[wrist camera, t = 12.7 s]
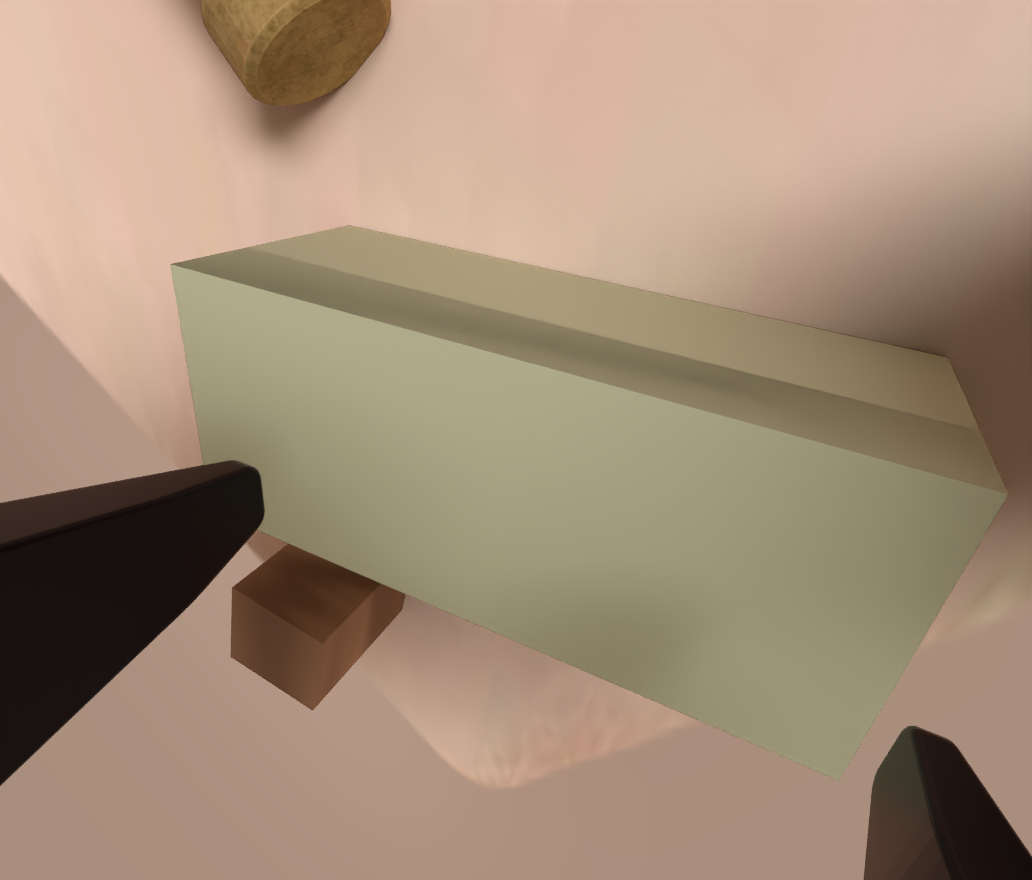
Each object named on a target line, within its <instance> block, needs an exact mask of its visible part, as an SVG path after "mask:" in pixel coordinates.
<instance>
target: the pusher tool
mask: <svg viewBox="0 0 1032 880" xmlns="http://www.w3.org/2000/svg"><path fill="white" fill-rule="evenodd" d="M404 598H405V594H404V593H402V592H400V591H397V590H395V589H393V588H390V587H388V586H386V585H384V584H381V583H379V582H377V581H374V580H372V579H370V578H367V577H365V576H363V575H360V574H358V573H356V572H353V571H351V570H349V569H346V568H344V567H342V566H339V565H337V564H335V563H333V562H330V561H328V560H326V559H323V558H321V557H319V556H316V555H314V554H312V553H309V552H307V551H305V550H302V549H300V548H298V547H295V546H293V545H291V544H288V545H286V546H285V547H284V548H283V549H281V550H280V551H279V552H277V553H276V554H275V555H274V556H272V557H271V558H270V559H268V560H267V561H266V562H265V563H263V564H262V565H261V566H259V567H258V568H257V569H256V570H254V571H253V572H252V573H250V574H249V575H248V576H246V577H245V578H244V579H243V580H241V581H240V582H239V583H237V584H236V585H235V586H234V587H233V588H232V621H231V622H232V623H231V625H232V626H231V657H232V658H233V659H235V660H237V661H238V662H240V663H241V664H243V665H244V666H246V667H247V668H249V669H250V670H252V671H253V672H255V673H257V674H258V675H259V676H261V677H262V678H264V679H266V680H267V681H268V682H270V683H272V684H273V685H275V686H276V687H278V688H279V689H281V690H282V691H284V692H285V693H287V694H288V695H290V696H291V697H293V698H294V699H296V700H297V701H299V702H300V703H302V704H304V705H305V706H307V707H308V708H310V709H311V710H314V708H315V707H316V706H317V705H318V704H319V703H320V702H321V700H322V699H323V698H324V697H325V696H326V695H327V694H328V693H329V691H330V690H331V689H332V688H333V687H334V686H335V685H336V684H337V682H338V681H339V680H340V679H341V678H342V677H343V676H344V675H345V673H346V672H347V671H348V670H349V669H350V668H351V667H352V665H353V664H354V663H355V662H356V661H357V660H358V659H359V658H360V656H361V655H362V654H363V653H364V652H365V651H366V650H367V649H368V647H369V646H370V645H371V644H372V643H373V642H374V641H375V640H376V638H377V637H378V636H379V635H380V634H381V633H382V632H383V631H384V629H385V628H386V627H387V626H388V625H389V624H390V623H391V621H392V620H393V619H394V618H395V617H396V616H397V615H398V614H399V612H400V611H401V610H402V606H403V602H404Z"/></svg>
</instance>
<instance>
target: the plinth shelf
mask: <svg viewBox="0 0 1032 880" xmlns="http://www.w3.org/2000/svg"><path fill="white" fill-rule="evenodd" d="M170 265H171V271H172V277H173V283H174V289H175V295H176V301H177V307H178V313H179V320H180V326H181V332H182V338H183V344H184V350H185V356H186V362H187V368H188V374H189V380H190V386H191V392H192V398H193V404H194V410H195V416H196V422H197V428H198V434H199V440H200V446H201V452H202V458H203V464H204V465H207V464H212V463H217V462H223V461H228V460H237V461H240V462H243V463H245V464H248V465H251V466H253V467H255V468H256V469H258V471H259V473H260V475H261V481H262V489H263V498H264V506H265V515H264V519H263V521H262V523H261V525H260V526H259V528H258V529H257V530H258V531H261V532H263V533H265V534H268V535H270V536H272V537H275V538H277V539H279V540H282V541H284V542H286V543H289V544H291V545H293V546H295V547H298V548H300V549H302V550H305V551H307V552H309V553H312V554H314V555H316V556H319V557H321V558H323V559H326V560H328V561H330V562H333V563H335V564H337V565H339V566H342V567H344V568H346V569H349V570H351V571H353V572H356V573H358V574H360V575H363V576H365V577H367V578H370V579H372V580H374V581H377V582H379V583H381V584H384V585H386V586H388V587H390V588H393V589H395V590H397V591H400V592H402V593H404V594H407V595H409V596H411V597H414V598H416V599H418V600H421V601H423V602H425V603H428V604H430V605H432V606H435V607H437V608H439V609H441V610H444V611H446V612H448V613H451V614H453V615H455V616H458V617H460V618H462V619H465V620H467V621H469V622H472V623H474V624H476V625H479V626H481V627H483V628H486V629H488V630H490V631H492V632H495V633H497V634H499V635H502V636H504V637H506V638H509V639H511V640H513V641H516V642H518V643H520V644H523V645H525V646H527V647H530V648H532V649H534V650H537V651H539V652H541V653H543V654H546V655H548V656H550V657H553V658H555V659H557V660H560V661H562V662H564V663H567V664H569V665H571V666H574V667H576V668H578V669H581V670H583V671H585V672H588V673H590V674H592V675H594V676H597V677H599V678H601V679H604V680H606V681H608V682H611V683H613V684H615V685H618V686H620V687H622V688H625V689H627V690H629V691H632V692H634V693H636V694H639V695H641V696H643V697H645V698H648V699H650V700H652V701H655V702H657V703H659V704H662V705H664V706H666V707H669V708H671V709H673V710H676V711H678V712H680V713H683V714H685V715H687V716H690V717H692V718H694V719H696V720H699V721H701V722H703V723H706V724H708V725H710V726H713V727H715V728H717V729H720V730H722V731H724V732H727V733H729V734H731V735H734V736H736V737H738V738H741V739H743V740H745V741H747V742H750V743H752V744H754V745H757V746H759V747H761V748H764V749H766V750H768V751H771V752H773V753H776V754H778V755H780V756H782V757H785V758H787V759H789V760H792V761H794V762H796V763H799V764H801V765H803V766H806V767H808V768H810V769H812V770H815V771H817V772H819V773H822V774H824V775H826V776H829V777H831V778H833V779H836V780H838V781H839V780H840V778H841V777H842V775H843V774H844V771H845V770H846V768H847V767H848V765H849V763H850V762H851V760H852V758H853V757H854V755H855V753H856V752H857V750H858V748H859V746H860V745H861V743H862V741H863V740H864V738H865V736H866V735H867V733H868V731H869V730H870V728H871V726H872V724H873V723H874V721H875V719H876V718H877V716H878V714H879V712H880V711H881V709H882V708H883V706H884V704H885V702H886V701H887V699H888V697H889V696H890V694H891V692H892V690H893V689H894V687H895V686H896V684H897V682H898V680H899V679H900V677H901V675H902V674H903V672H904V670H905V669H906V667H907V665H908V663H909V662H910V660H911V659H912V657H913V655H914V653H915V652H916V650H917V648H918V647H919V645H920V643H921V642H922V640H923V638H924V637H925V635H926V633H927V631H928V630H929V628H930V626H931V625H932V623H933V621H934V620H935V618H936V616H937V615H938V613H939V611H940V609H941V608H942V606H943V604H944V603H945V601H946V599H947V598H948V596H949V594H950V593H951V591H952V589H953V587H954V586H955V584H956V582H957V581H958V579H959V577H960V576H961V574H962V572H963V571H964V569H965V567H966V565H967V564H968V562H969V560H970V559H971V557H972V555H973V554H974V552H975V550H976V549H977V547H978V545H979V544H980V542H981V540H982V538H983V537H984V535H985V533H986V532H987V530H988V528H989V527H990V525H991V523H992V522H993V520H994V518H995V516H996V515H997V513H998V511H999V510H1000V508H1001V506H1002V505H1003V503H1004V501H1005V500H1006V498H1007V496H1008V492H1007V490H1006V488H1005V485H1004V483H1003V481H1002V478H1001V476H1000V474H999V472H998V469H997V467H996V465H995V463H994V460H993V458H992V456H991V454H990V451H989V449H988V447H987V445H986V442H985V440H984V438H983V436H982V433H981V431H980V429H979V427H978V424H977V422H976V420H975V418H974V415H973V413H972V411H971V409H970V406H969V404H968V402H967V400H966V397H965V395H964V393H963V391H962V388H961V386H960V384H959V382H958V379H957V377H956V375H955V373H954V370H953V368H952V366H951V364H950V361H949V359H948V357H943V356H939V355H934V354H930V353H925V352H921V351H916V350H912V349H907V348H903V347H898V346H894V345H889V344H885V343H880V342H875V341H871V340H866V339H862V338H857V337H853V336H848V335H844V334H839V333H835V332H830V331H826V330H821V329H817V328H812V327H807V326H803V325H798V324H794V323H789V322H785V321H780V320H776V319H771V318H767V317H762V316H758V315H753V314H749V313H744V312H739V311H735V310H730V309H726V308H721V307H717V306H712V305H708V304H703V303H699V302H694V301H690V300H685V299H681V298H676V297H671V296H667V295H662V294H658V293H653V292H649V291H644V290H640V289H635V288H631V287H626V286H622V285H617V284H613V283H608V282H603V281H599V280H594V279H590V278H585V277H581V276H576V275H572V274H567V273H563V272H558V271H554V270H549V269H545V268H540V267H535V266H531V265H526V264H522V263H517V262H513V261H508V260H504V259H499V258H495V257H490V256H486V255H481V254H477V253H472V252H467V251H463V250H458V249H454V248H449V247H445V246H440V245H436V244H431V243H427V242H422V241H418V240H413V239H409V238H404V237H399V236H395V235H390V234H386V233H381V232H377V231H372V230H368V229H363V228H359V227H354V226H350V225H348V226H344V227H339V228H335V229H330V230H325V231H321V232H316V233H312V234H307V235H302V236H298V237H293V238H289V239H284V240H280V241H275V242H270V243H266V244H261V245H257V246H252V247H247V248H243V249H238V250H234V251H229V252H224V253H220V254H215V255H211V256H206V257H202V258H197V259H192V260H188V261H183V262H179V263H174V264H170Z"/></svg>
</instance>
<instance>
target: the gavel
mask: <svg viewBox="0 0 1032 880" xmlns="http://www.w3.org/2000/svg"><path fill="white" fill-rule="evenodd" d="M201 12H202V18H203V23H204V25H205V27H206V29H207V31H208V33H209V34H210V36H211V37H212V39H213V40H214V42H215V43H216V45H217V46H218V48H219V49H220V51H221V52H222V54H223V55H224V57H225V58H226V60H227V61H228V63H229V64H230V66H231V67H232V69H233V70H234V72H235V73H236V75H237V76H238V78H239V79H240V80H241V82H242V83H243V85H244V86H245V88H246V89H247V91H248V92H249V93H250V94H251V95H252V96H253V97H254V98H255V99H257V100H258V101H260V102H262V103H266V104H271V105H293V104H299V103H304V102H307V101H311V100H314V99H316V98H318V97H321V96H323V95H325V94H327V93H329V92H331V91H332V90H334V89H336V88H337V87H339V86H340V85H342V84H343V83H345V82H346V81H347V80H349V79H350V78H351V77H352V76H353V75H354V74H355V73H356V72H357V71H358V69H359V68H360V67H361V66H362V64H363V63H364V62H365V61H366V59H367V58H368V57H369V56H370V54H371V53H372V52H373V51H374V49H375V48H376V47H377V46H378V44H379V43H380V42H381V40H382V38H383V36H384V33H385V31H386V28H387V26H388V23H389V19H390V15H391V0H202V3H201Z"/></svg>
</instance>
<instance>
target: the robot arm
mask: <svg viewBox="0 0 1032 880" xmlns="http://www.w3.org/2000/svg"><path fill="white" fill-rule="evenodd" d="M264 515H265V506H264V498H263V489H262V481H261V475H260V473H259V471H258V469H256V468H255V467H253V466H251V465H248V464H245V463H243V462H240V461H237V460H228V461H223V462H217V463H212V464H207V465H201V466H196V467H191V468H185V469H180V470H174V471H169V472H164V473H158V474H153V475H148V476H142V477H137V478H131V479H126V480H121V481H115V482H110V483H105V484H99V485H94V486H89V487H83V488H79V489H73V490H67V491H62V492H56V493H51V494H46V495H40V496H35V497H30V498H24V499H19V500H14V501H8V502H3V503H0V786H1V785H2V784H3V783H4V782H5V781H6V780H7V779H8V778H9V777H10V776H11V775H12V774H13V773H14V772H15V771H17V770H18V769H19V767H21V766H22V765H23V764H24V763H25V762H26V761H27V760H28V759H29V758H30V757H31V756H32V755H33V754H34V753H35V752H36V751H38V750H39V749H40V748H41V747H42V746H43V745H44V744H45V743H46V742H47V741H48V740H49V739H50V738H51V737H52V736H53V735H54V734H55V733H56V732H57V731H59V730H60V729H61V728H62V727H63V726H64V725H65V724H66V723H67V722H68V721H69V720H70V719H71V718H72V717H73V716H74V715H75V714H76V713H77V712H78V711H79V710H81V709H82V708H83V707H84V706H85V704H87V703H88V702H89V701H90V700H91V699H92V698H93V697H94V696H95V695H96V694H97V693H98V692H99V691H100V690H101V689H103V688H104V687H105V686H106V685H107V684H108V683H109V682H110V681H111V680H112V679H113V678H114V677H115V676H116V675H117V674H118V673H119V672H120V671H122V670H123V668H125V667H126V666H127V665H128V664H129V663H130V662H131V661H132V660H133V659H134V658H135V657H136V656H137V655H138V654H139V653H140V652H141V651H143V649H144V648H146V647H147V646H148V645H149V644H150V643H151V642H152V641H153V640H154V639H155V638H156V637H157V636H158V635H159V634H160V633H161V632H162V631H164V630H165V629H166V628H167V627H168V626H169V625H170V624H171V623H172V622H173V621H174V620H175V619H176V618H177V617H178V616H179V615H180V614H181V613H182V612H183V611H184V610H185V609H186V608H187V607H188V606H189V605H190V604H191V603H192V602H193V601H194V600H195V599H196V598H197V597H198V596H199V595H200V594H201V593H202V592H203V591H204V589H205V588H206V587H207V586H208V585H209V584H210V583H211V581H212V580H213V579H214V578H215V577H216V576H217V575H218V573H219V572H220V571H221V570H222V569H223V568H224V567H225V566H226V564H227V563H228V562H229V561H230V560H231V559H232V558H233V556H234V555H235V554H236V553H237V552H238V551H239V550H240V548H241V547H242V546H243V545H244V544H245V543H246V542H247V540H248V539H249V538H250V537H251V536H252V535H253V534H254V532H255V531H256V530H257V529H258V528H259V526H260V525H261V523H262V521H263V519H264ZM864 880H1032V856H1031V854H1030V853H1029V851H1028V850H1027V848H1026V847H1025V846H1024V844H1023V843H1022V841H1021V840H1020V838H1019V837H1018V835H1017V834H1016V832H1015V831H1014V829H1013V828H1012V826H1011V825H1010V824H1009V822H1008V821H1007V819H1006V818H1005V816H1004V815H1003V813H1002V812H1001V810H1000V809H999V807H998V806H997V805H996V803H995V802H994V800H993V799H992V798H991V796H990V794H989V793H988V791H987V790H986V788H985V787H984V786H983V784H982V783H981V781H980V780H979V778H978V777H977V775H976V774H975V772H974V771H973V770H972V768H971V767H970V765H969V764H968V762H967V761H966V759H965V758H964V756H963V755H962V753H961V752H960V751H959V749H958V748H957V746H956V745H955V744H954V743H953V742H952V741H950V740H948V739H947V738H945V737H942V736H940V735H937V734H934V733H932V732H929V731H927V730H924V729H922V728H919V727H916V726H908V727H906V728H905V729H904V730H903V731H902V732H901V733H900V735H899V736H898V738H897V740H896V741H895V743H894V744H893V746H892V748H891V749H890V751H889V752H888V754H887V756H886V757H885V759H884V760H883V762H882V764H881V765H880V767H879V768H878V770H877V773H876V775H875V779H874V782H873V787H872V794H871V805H870V816H869V827H868V838H867V849H866V860H865V871H864Z"/></svg>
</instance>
